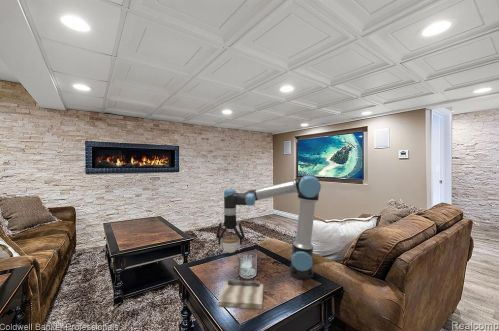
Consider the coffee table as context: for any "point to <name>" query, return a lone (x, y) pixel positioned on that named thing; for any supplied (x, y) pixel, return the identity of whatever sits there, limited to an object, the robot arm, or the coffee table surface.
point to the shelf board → (242, 294)
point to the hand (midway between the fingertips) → (230, 249)
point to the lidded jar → (230, 243)
